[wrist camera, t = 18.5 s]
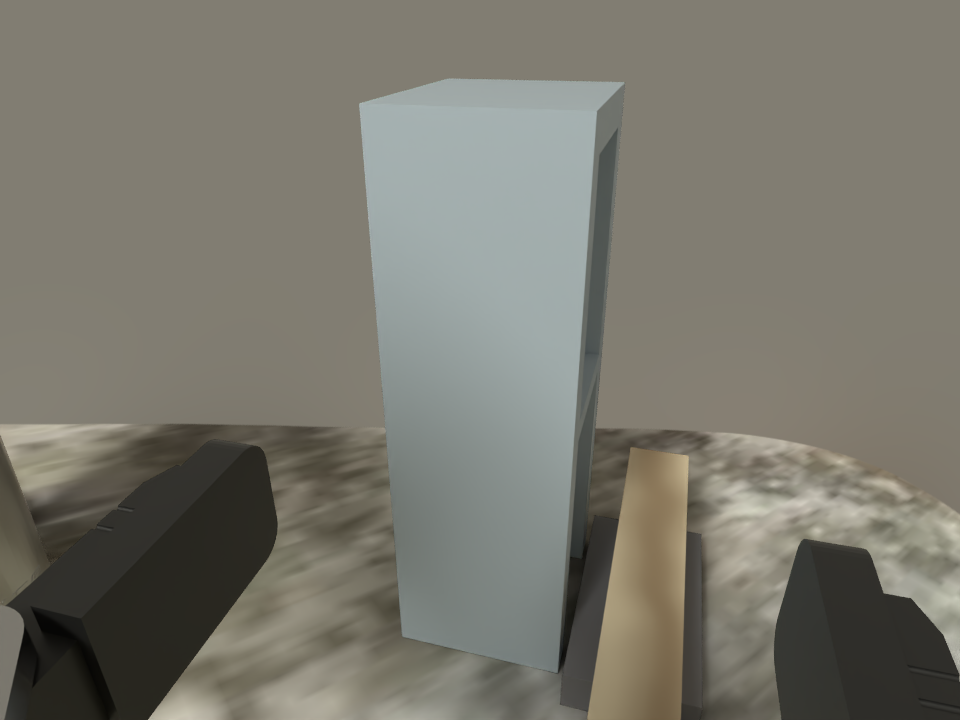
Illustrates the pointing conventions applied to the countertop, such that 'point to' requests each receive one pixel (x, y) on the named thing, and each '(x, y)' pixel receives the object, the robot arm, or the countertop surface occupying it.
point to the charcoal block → (592, 612)
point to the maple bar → (645, 596)
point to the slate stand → (491, 346)
